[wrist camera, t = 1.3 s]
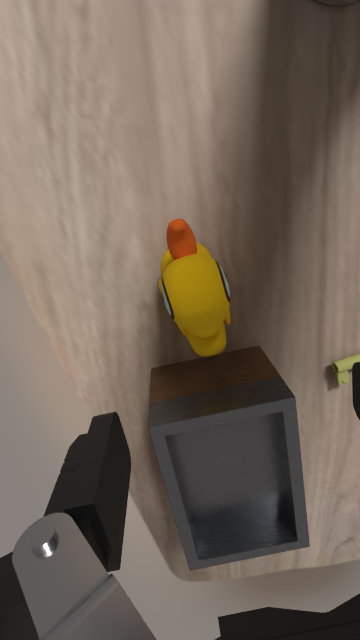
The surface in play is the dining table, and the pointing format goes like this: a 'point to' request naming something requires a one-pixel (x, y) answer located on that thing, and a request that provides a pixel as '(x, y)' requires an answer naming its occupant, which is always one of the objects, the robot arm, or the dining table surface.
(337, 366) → the key
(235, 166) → the dining table surface
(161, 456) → the gray rectangular tray
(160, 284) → the duckling
